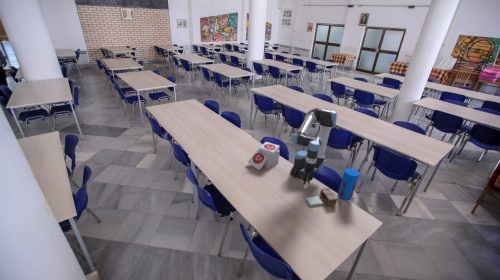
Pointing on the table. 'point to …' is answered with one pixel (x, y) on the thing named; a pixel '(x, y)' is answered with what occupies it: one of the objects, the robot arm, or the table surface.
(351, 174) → the thermos
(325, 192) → the tan notched block
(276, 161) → the pizza boxes
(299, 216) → the table surface
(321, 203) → the board
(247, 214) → the table surface
